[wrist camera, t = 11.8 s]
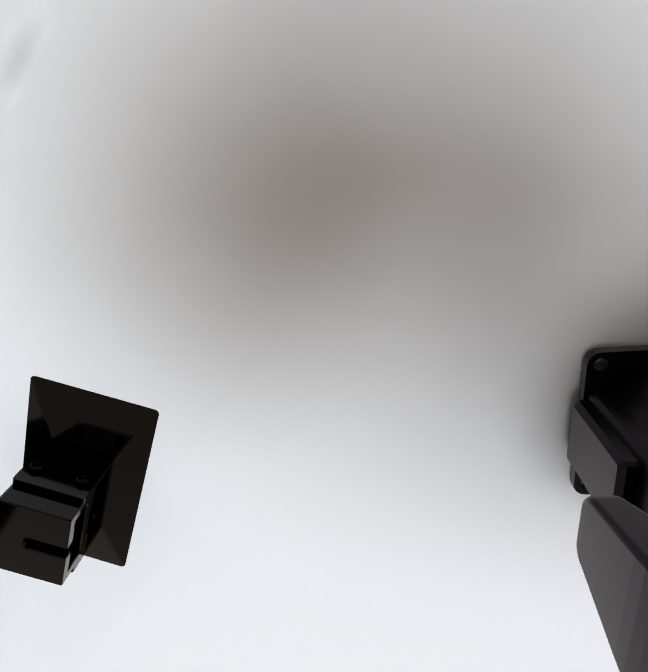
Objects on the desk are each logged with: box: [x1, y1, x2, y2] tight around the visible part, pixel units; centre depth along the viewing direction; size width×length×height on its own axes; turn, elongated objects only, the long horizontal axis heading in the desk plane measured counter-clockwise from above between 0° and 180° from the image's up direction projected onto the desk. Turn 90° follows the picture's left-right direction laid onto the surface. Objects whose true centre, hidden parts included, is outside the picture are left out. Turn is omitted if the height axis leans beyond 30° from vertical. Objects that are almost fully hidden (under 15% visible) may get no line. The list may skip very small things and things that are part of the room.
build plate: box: [0, 376, 159, 585], centre depth 22 cm, size 12×7×5 cm, turn 163°
